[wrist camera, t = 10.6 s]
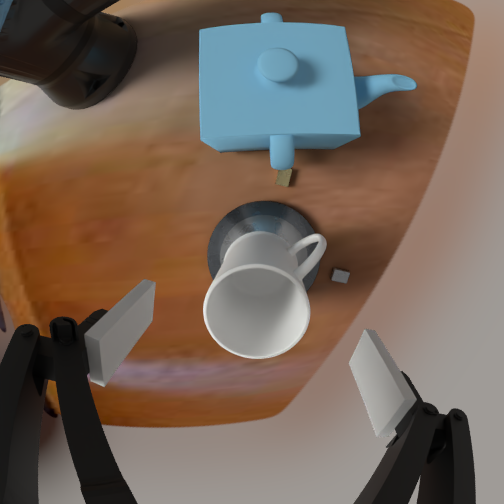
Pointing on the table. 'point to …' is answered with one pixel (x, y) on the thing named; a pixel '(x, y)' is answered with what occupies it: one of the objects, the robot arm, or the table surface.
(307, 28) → the teapot
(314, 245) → the socket pad
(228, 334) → the mug
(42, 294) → the table surface
